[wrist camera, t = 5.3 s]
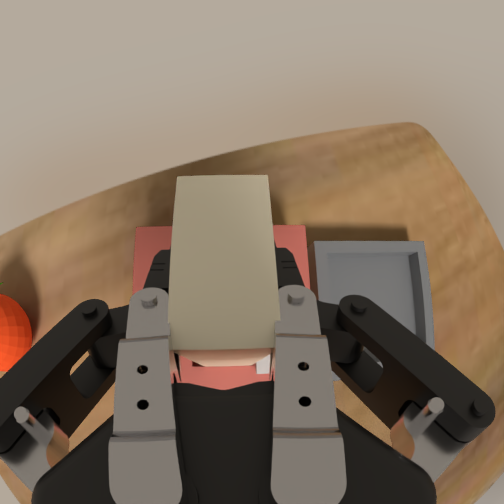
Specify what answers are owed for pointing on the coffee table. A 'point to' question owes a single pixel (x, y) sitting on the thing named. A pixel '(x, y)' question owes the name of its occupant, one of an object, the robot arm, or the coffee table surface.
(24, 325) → the clementine
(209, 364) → the tall beige block
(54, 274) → the coffee table surface
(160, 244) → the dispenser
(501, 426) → the coffee table surface
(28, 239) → the coffee table surface
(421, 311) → the tray
